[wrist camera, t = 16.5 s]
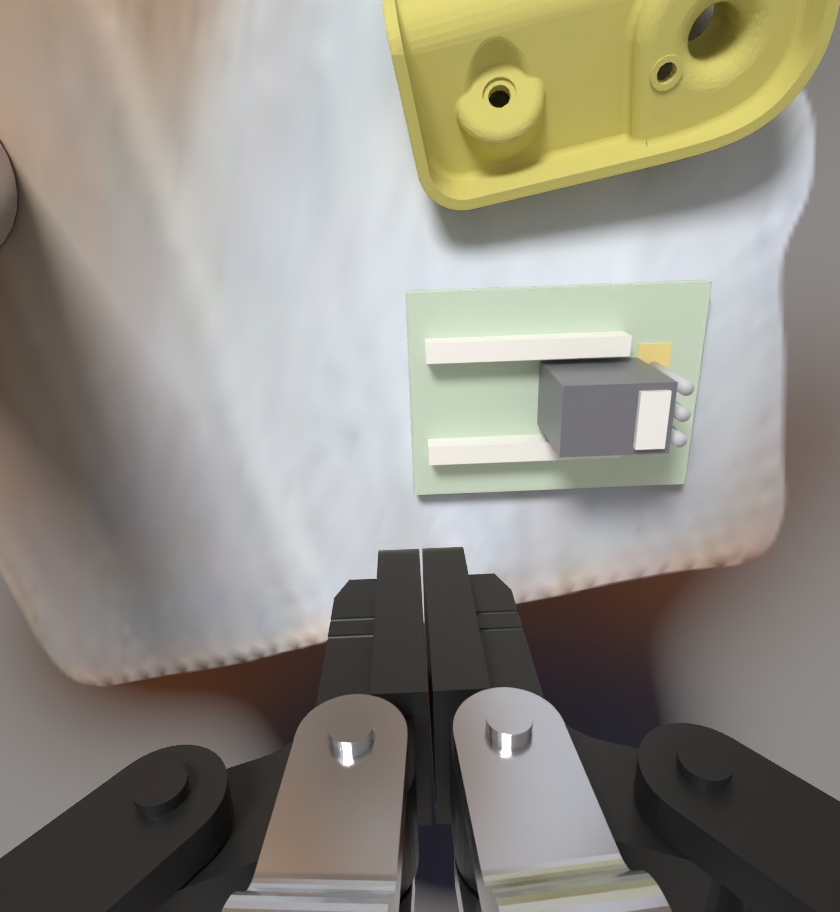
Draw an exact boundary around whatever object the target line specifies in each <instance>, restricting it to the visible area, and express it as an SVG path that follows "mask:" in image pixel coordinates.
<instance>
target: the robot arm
mask: <svg viewBox="0 0 840 912" xmlns="http://www.w3.org/2000/svg"><path fill="white" fill-rule="evenodd" d="M16 211H17V188H16V182H15V175H14V172H13V170H12V167H11V164H10V161H9V158H8V156H7V154H6V152H5V150H4V148H3V147H2V145H1V143H0V245H1V244H2V243H3V242H4V241H5V239H6V237H7V236H8V234H9V232H10V231H11V229H12V226H13V222H14V219H15V216H16ZM422 551H423V586H424V617H425V641H426V657H425V641H424V624H423V607H422V591H421V574H420V558H419V549H405V550H382V551H379V552H378V567H377V579H361V580H349V581H348V582H347V583H346V585H345V586H344V587H343V588H342V589H341V591H340V592H339V593H338V594H337V595H336V597H335V598H334V603H333V609H332V615H331V622H330V627H329V633H328V640H327V645H326V651H325V657H324V662H323V668H322V674H321V681H320V686H319V692H318V698H317V704H316V708H315V709H313V710H312V711H311V712H310V713H309V714H308V715H307V716H306V717H305V718H304V719H303V721H302V722H301V724H300V725H299V727H298V729H297V732H296V734H295V738H294V740H293V741H292V742H291V743H289V744H288V745H287V746H285V747H283V748H282V749H280V750H278V751H276V752H274V753H272V754H270V755H267V756H264V757H262V758H259V759H256V760H253V761H249V762H246V763H243V764H240V765H237V766H234V767H231V768H228V769H226V768H225V765H224V763H223V761H222V760H221V758H220V757H219V756H218V755H217V754H216V753H214V752H213V751H211V750H209V749H207V748H204V747H200V746H195V745H177V746H171V747H166V748H163V749H159V750H157V751H154V752H151V753H149V754H147V755H145V756H143V757H141V758H139V759H138V760H136V761H134V762H133V763H132V764H130V765H128V766H127V767H126V768H124V769H123V770H121V771H120V772H119V773H117V774H116V775H115V776H113V777H112V778H111V779H109V780H108V781H106V782H105V783H104V784H102V785H101V786H100V787H98V788H97V789H95V790H94V791H93V792H91V793H90V794H88V795H87V796H86V797H84V798H83V799H82V800H80V801H79V802H77V803H76V804H75V805H73V806H72V807H70V808H69V809H68V810H66V811H65V812H64V813H62V814H61V815H60V816H58V817H57V818H55V819H54V820H53V821H51V822H50V823H49V824H47V825H46V826H44V827H43V828H42V829H40V830H39V831H38V832H36V833H35V834H33V835H32V836H31V837H29V838H28V839H26V840H25V841H24V842H22V843H21V844H20V845H18V846H17V847H15V848H14V849H13V850H11V851H10V852H9V853H7V854H6V855H4V856H3V857H2V858H0V912H414V898H415V896H414V895H415V875H416V872H417V868H418V859H419V849H418V825H432V815H431V784H430V755H429V754H430V753H429V723H428V722H429V721H428V693H429V709H430V725H431V742H432V756H433V757H432V758H433V773H434V788H435V789H434V790H435V806H436V822H437V824H451V823H452V829H453V841H454V853H455V887H456V893H457V899H458V906H459V912H840V801H838V800H836V799H835V798H833V797H831V796H829V795H828V794H826V793H824V792H823V791H821V790H819V789H818V788H816V787H814V786H813V785H811V784H809V783H807V782H806V781H804V780H802V779H801V778H799V777H797V776H795V775H794V774H792V773H790V772H789V771H787V770H785V769H783V768H782V767H780V766H778V765H776V764H775V763H773V762H772V761H770V760H768V759H767V758H765V757H763V756H761V755H760V754H758V753H756V752H755V751H753V750H751V749H749V748H748V747H746V746H745V745H743V744H741V743H739V742H738V741H736V740H734V739H733V738H731V737H729V736H727V735H725V734H723V733H721V732H718V731H716V730H714V729H711V728H708V727H704V726H701V725H695V724H689V723H674V724H667V725H663V726H660V727H658V728H656V729H653V730H652V731H651V732H649V733H648V734H647V735H646V736H645V737H644V739H643V740H642V742H641V744H640V746H639V749H638V748H633V747H629V746H624V745H620V744H615V743H611V742H606V741H602V740H598V739H595V738H591V737H589V736H586V735H584V734H581V733H579V732H578V731H576V730H574V729H572V728H570V727H569V726H568V725H566V724H565V723H564V721H563V719H562V717H561V716H560V714H559V713H558V711H557V710H556V709H555V708H554V707H553V706H552V705H551V704H550V703H549V702H547V701H546V700H545V699H544V697H543V694H542V691H541V687H540V684H539V681H538V677H537V674H536V671H535V667H534V664H533V661H532V657H531V654H530V651H529V647H528V644H527V641H526V637H525V634H524V631H523V630H522V624H521V621H520V617H519V615H518V613H517V607H516V604H515V601H514V597H513V594H512V591H511V589H510V588H509V587H508V586H507V585H506V584H505V583H504V582H502V581H501V580H500V579H499V578H498V577H497V576H496V575H495V574H474V575H468V570H467V565H466V560H465V554H464V549H463V547H449V548H426V549H423V550H422ZM426 661H427V675H426ZM427 677H428V691H427Z"/></svg>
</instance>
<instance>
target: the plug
mask: <svg viewBox="0 0 840 912" xmlns="http://www.w3.org/2000/svg"><path fill="white" fill-rule="evenodd" d="M677 386H678V382H677V381H675V380H674V379H672V378H670V377H669V376H667V375H665V374H664V373H662V372H660V371H659V370H657V369H655V368H654V367H652V366H651V365H649V364H647V363H646V362H644V361H642V360H641V359H639V358H637V357H635V358H606V359H578V360H549V361H540V365H539V388H538V412H537V424H538V425H539V427H540V428H541V430H542V431H543V433H544V434H545V436H546V438H547V439H548V441H549V442H550V444H551V445H552V447H553V448H554V450H555V451H556V453H557V455H558V456H559V458H560V457H587V456H614V455H642V454H669V449H670V441H671V433H672V425H673V417H674V409H675V402H676V394H677Z"/></svg>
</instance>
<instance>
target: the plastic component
mask: <svg viewBox="0 0 840 912" xmlns="http://www.w3.org/2000/svg"><path fill="white" fill-rule="evenodd" d="M382 1H383V9H384V17H385V25H386V31H387V36H388V42H389V47H390V51H391V56H392V61H393V65H394V70H395V74H396V79H397V83H398V88H399V92H400V96H401V101H402V105H403V110H404V114H405V119H406V123H407V128H408V132H409V137H410V141H411V146H412V150H413V155H414V159H415V163H416V168H417V172H418V177H419V180H420V183H421V185H422V187H423V189H424V191H425V192H426V193H427V194H428V195H429V197H430V198H431V199H432V200H434V201H435V202H437V203H438V204H439V205H441V206H444V207H446V208H449V209H453V210H471V209H475V208H480V207H484V206H488V205H492V204H496V203H501V202H505V201H509V200H513V199H517V198H522V197H526V196H530V195H534V194H539V193H543V192H547V191H551V190H555V189H560V188H564V187H568V186H572V185H576V184H581V183H585V182H589V181H593V180H597V179H602V178H606V177H610V176H614V175H619V174H623V173H627V172H631V171H635V170H640V169H644V168H648V167H652V166H656V165H661V164H665V163H669V162H672V161H676V160H680V159H684V158H688V157H691V156H695V155H699V154H702V153H705V152H708V151H712V150H715V149H717V148H720V147H723V146H725V145H728V144H731V143H733V142H736V141H738V140H740V139H742V138H744V137H746V136H748V135H750V134H752V133H753V132H755V131H756V130H758V129H760V128H761V127H763V126H764V125H766V124H767V123H768V122H770V121H771V120H772V119H774V118H775V117H776V116H777V115H778V114H779V113H781V112H782V111H783V110H784V109H785V108H786V107H787V106H788V105H789V104H790V103H791V102H792V101H793V100H794V98H795V97H796V96H797V95H798V94H799V93H800V92H801V90H802V89H803V88H804V86H805V85H806V83H807V82H808V81H809V79H810V78H811V76H812V75H813V73H814V72H815V70H816V68H817V67H818V65H819V63H820V61H821V59H822V57H823V55H824V53H825V51H826V48H827V46H828V43H829V40H830V37H831V35H832V32H833V29H834V26H835V22H836V18H837V14H838V10H839V6H840V0H382ZM712 4H714V11H713V16H712V18H711V20H710V22H709V24H708V26H707V28H706V29H705V30H704V31H703V32H702V33H701V34H700V35H699V36H698V37H696V38H695V39H693V40H691V41H688V37H689V33H690V30H691V28H692V25H693V24H694V22H695V20H696V19H697V18H698V16H699V15H700V14H701V13H702V12H703V11H704V10H705V9H707V8H708V7H709V6H711V5H712ZM668 62H672V71H671V72H670V74H669V75H668V77H666V78H664V79H663V80H657V73H658V71H659V69H660V67H661V66H662V65H664V64H665V63H668ZM496 91H504V92H506V93H507V94H508V95H509V98H510V100H509V103H508V104H506V105H505V106H504V107H502V108H496V107H494V106H492V105H491V104H490V102H489V98H490V96H491V94H493V93H494V92H496Z"/></svg>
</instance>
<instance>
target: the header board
mask: <svg viewBox="0 0 840 912" xmlns="http://www.w3.org/2000/svg"><path fill="white" fill-rule="evenodd" d="M711 285H712V282H709V281H705V280H691V281H664V282H636V283H609V284H582V285H554V286H527V287H500V288H472V289H445V290H418V291H406V304H407V329H408V354H409V380H410V405H411V430H412V455H413V480H414V495H428V494H453V493H477V492H502V491H526V490H551V489H575V488H600V487H624V486H648V485H673V484H684V483H685V476H686V469H687V461H688V454H689V447H690V439H691V432H692V425H693V417H694V410H695V403H696V395H697V388H698V380H699V373H700V366H701V358H702V351H703V344H704V336H705V329H706V322H707V314H708V307H709V300H710V292H711ZM635 357H637V358H639V359H641V360H642V361H644V362H646V363H647V364H649V365H651V366H652V367H654V368H655V369H657V370H659V371H660V372H662V373H664V374H665V375H667V376H669V377H670V378H672V379H674V380H675V381H677V382H678V386H677V394H676V402H675V409H674V417H673V425H672V433H671V441H670V449H669V454H642V455H614V456H587V457H560V458H559V456H558V455H557V453H556V451H555V450H554V448H553V447H552V445H551V444H550V442H549V441H548V439H547V438H546V436H545V434H544V433H543V431H542V430H541V428H540V427H539V425H538V424H537V412H538V388H539V365H540V361H549V360H578V359H606V358H635Z"/></svg>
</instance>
